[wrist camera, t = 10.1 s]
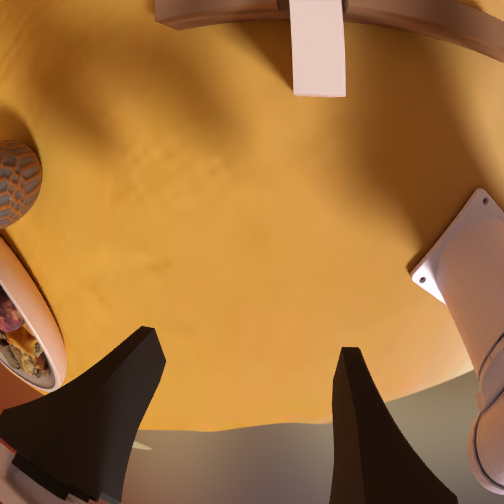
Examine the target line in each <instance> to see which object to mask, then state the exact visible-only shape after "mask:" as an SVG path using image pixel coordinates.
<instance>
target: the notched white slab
mask: <svg viewBox="0 0 504 504" xmlns="http://www.w3.org/2000/svg"><path fill="white" fill-rule="evenodd" d="M289 3H290V19H291V38H292V60H293V92H294V95H296V96H309V97H330V98H332V97H346V75H345V46H344V28H343V15H342V3H341V0H289Z"/></svg>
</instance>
